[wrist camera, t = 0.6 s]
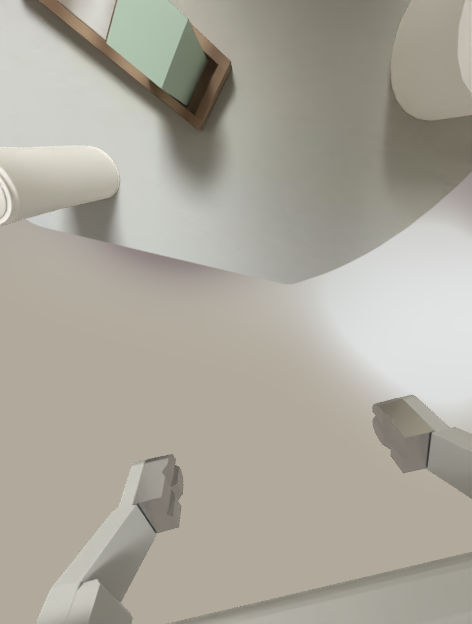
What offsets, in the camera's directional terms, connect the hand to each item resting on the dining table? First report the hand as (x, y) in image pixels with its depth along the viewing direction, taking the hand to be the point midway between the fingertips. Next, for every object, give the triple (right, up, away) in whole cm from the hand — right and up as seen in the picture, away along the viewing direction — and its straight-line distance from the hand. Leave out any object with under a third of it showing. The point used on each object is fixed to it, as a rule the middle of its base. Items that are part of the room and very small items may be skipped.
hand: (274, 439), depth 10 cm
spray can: (-29, +30, +35) cm, 54 cm away
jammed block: (-10, +40, +26) cm, 49 cm away
